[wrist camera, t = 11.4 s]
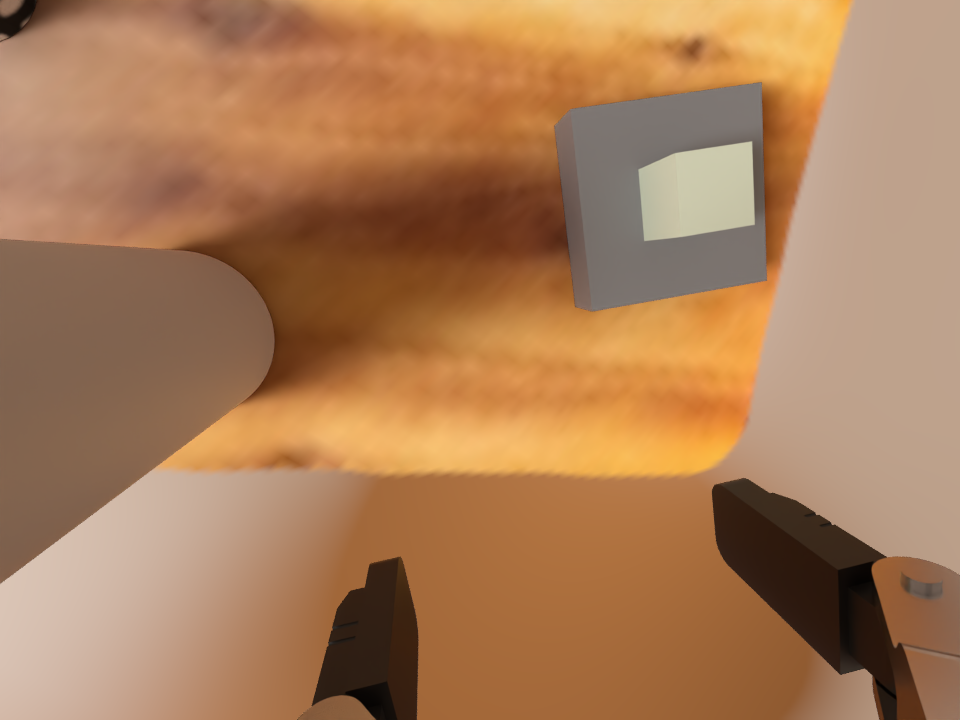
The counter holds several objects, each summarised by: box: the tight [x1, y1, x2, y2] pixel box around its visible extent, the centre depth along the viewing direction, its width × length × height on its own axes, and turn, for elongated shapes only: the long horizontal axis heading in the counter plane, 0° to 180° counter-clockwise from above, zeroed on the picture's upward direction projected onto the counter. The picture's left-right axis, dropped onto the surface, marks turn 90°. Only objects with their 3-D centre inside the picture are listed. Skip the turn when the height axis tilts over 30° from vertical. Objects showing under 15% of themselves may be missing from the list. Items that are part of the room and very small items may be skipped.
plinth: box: [554, 82, 767, 311], centre depth 36 cm, size 14×14×4 cm
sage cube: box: [638, 141, 755, 241], centre depth 32 cm, size 5×5×5 cm
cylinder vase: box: [0, 239, 275, 583], centre depth 24 cm, size 12×12×25 cm
